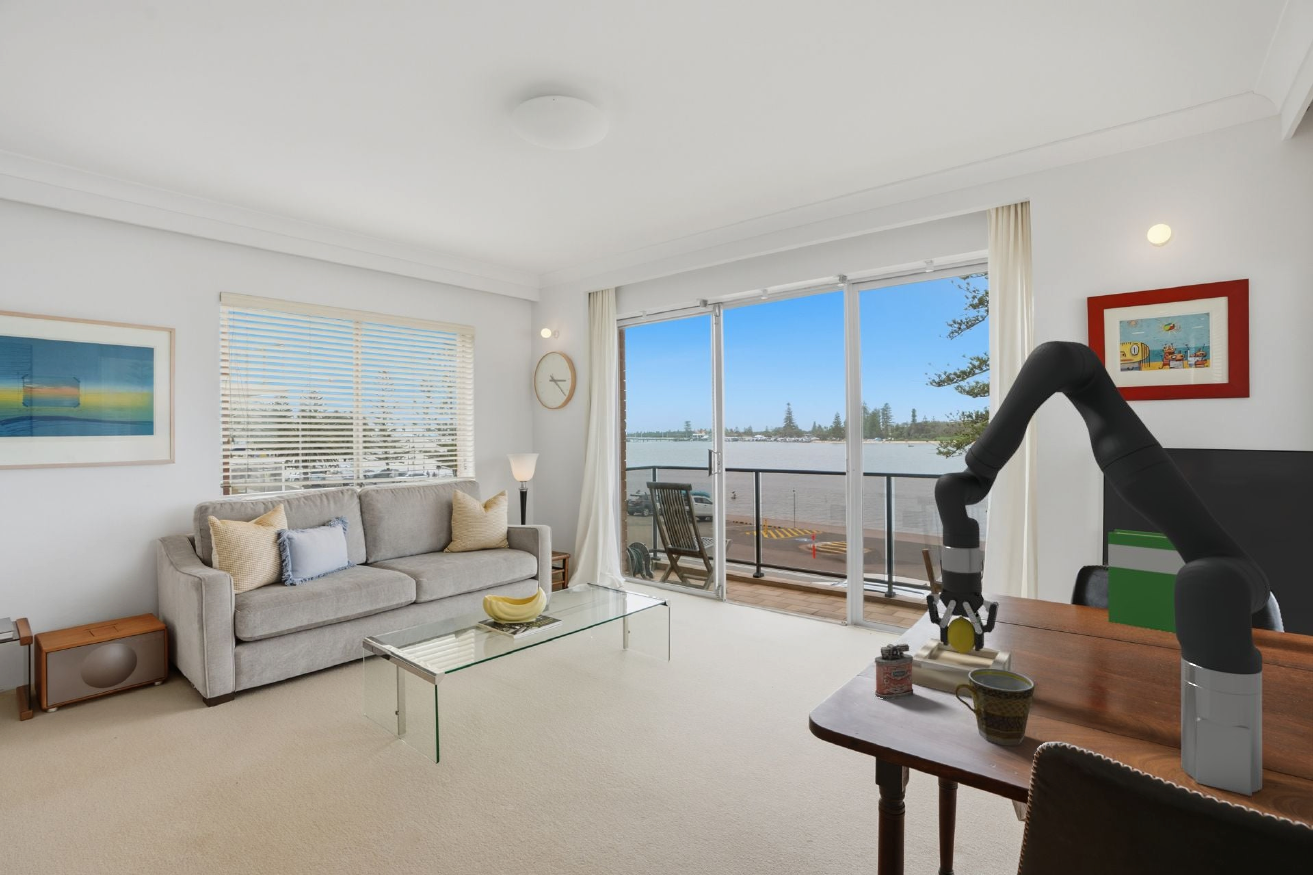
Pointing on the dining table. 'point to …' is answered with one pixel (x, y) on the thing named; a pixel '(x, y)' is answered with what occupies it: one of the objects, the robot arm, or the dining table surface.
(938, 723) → the dining table surface
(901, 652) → the lighter
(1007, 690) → the ceramic cup
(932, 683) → the birch base
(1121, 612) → the green striped box
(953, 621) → the lemon
